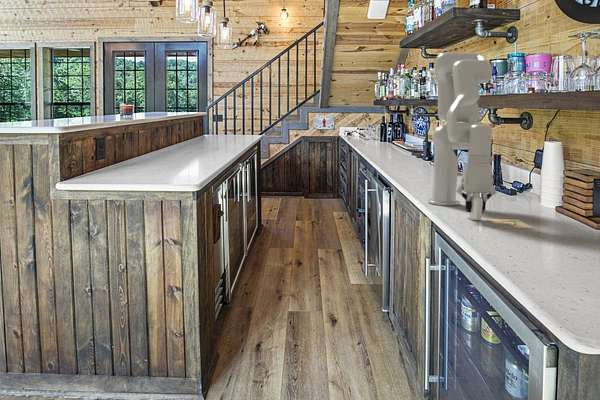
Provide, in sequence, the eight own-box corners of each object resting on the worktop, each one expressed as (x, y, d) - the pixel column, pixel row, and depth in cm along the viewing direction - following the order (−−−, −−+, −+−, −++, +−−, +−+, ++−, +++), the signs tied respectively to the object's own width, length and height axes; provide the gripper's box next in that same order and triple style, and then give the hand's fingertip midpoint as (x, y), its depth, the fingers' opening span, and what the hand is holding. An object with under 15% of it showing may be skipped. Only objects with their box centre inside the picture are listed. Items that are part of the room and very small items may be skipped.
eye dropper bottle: (469, 220, 209) (471, 186, 207) (466, 217, 215) (469, 184, 213) (481, 221, 209) (484, 187, 207) (479, 218, 214) (481, 184, 212)
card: (486, 219, 212) (486, 218, 212) (517, 220, 212) (517, 219, 212) (499, 227, 198) (500, 226, 198) (533, 228, 198) (533, 227, 198)
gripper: (499, 159, 212) (495, 210, 215) (452, 158, 212) (448, 209, 215) (506, 161, 205) (502, 214, 207) (457, 160, 204) (454, 213, 207)
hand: (474, 211), depth 211 cm, fingers closed on eye dropper bottle, 4 cm apart
